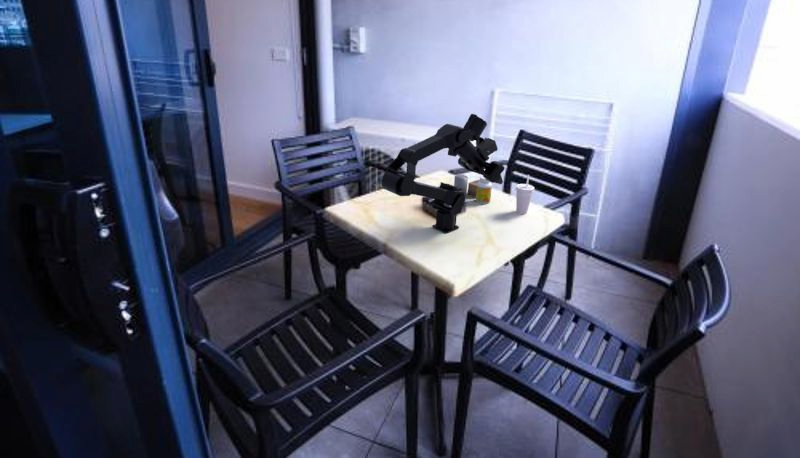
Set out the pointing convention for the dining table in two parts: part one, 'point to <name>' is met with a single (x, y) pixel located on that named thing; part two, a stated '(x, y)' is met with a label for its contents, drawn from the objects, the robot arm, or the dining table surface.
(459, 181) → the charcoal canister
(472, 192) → the walnut block
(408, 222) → the dining table surface
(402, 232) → the dining table surface
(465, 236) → the dining table surface
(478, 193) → the supplement bottle
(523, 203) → the smoothie
